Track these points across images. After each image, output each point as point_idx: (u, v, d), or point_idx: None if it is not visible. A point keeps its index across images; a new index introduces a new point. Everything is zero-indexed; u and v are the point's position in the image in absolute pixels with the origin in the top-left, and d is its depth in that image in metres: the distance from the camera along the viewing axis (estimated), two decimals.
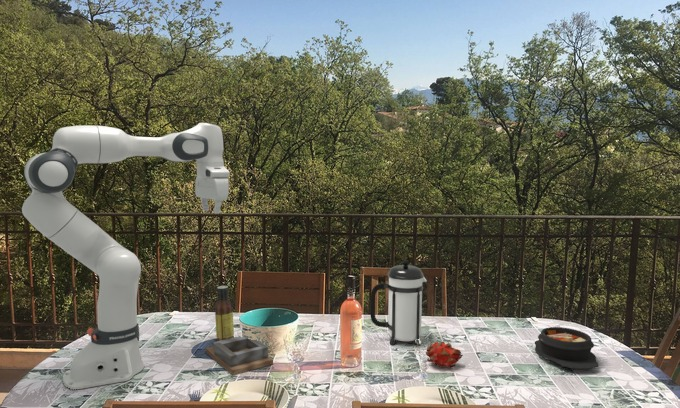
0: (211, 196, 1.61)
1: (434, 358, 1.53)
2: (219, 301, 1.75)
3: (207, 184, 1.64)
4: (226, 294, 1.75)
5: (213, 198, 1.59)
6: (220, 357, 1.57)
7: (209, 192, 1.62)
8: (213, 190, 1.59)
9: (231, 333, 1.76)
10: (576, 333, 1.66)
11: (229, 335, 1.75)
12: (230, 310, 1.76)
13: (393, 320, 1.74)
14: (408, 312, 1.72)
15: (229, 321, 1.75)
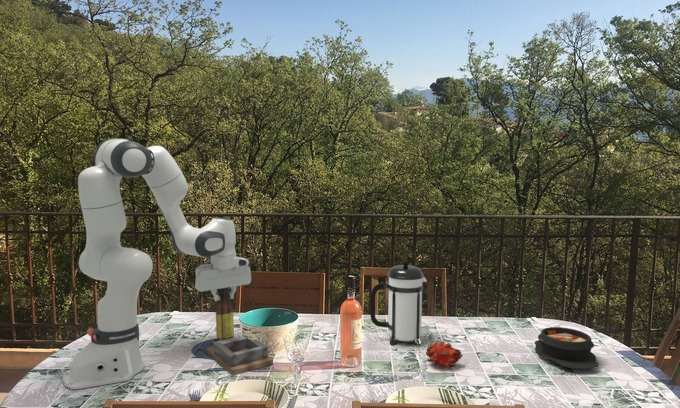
0: (238, 283, 1.77)
1: (434, 358, 1.53)
2: (220, 301, 1.75)
3: (227, 274, 1.75)
4: (227, 294, 1.76)
5: (242, 284, 1.78)
6: (220, 357, 1.57)
7: (233, 280, 1.76)
8: (241, 277, 1.78)
9: (231, 333, 1.76)
10: (576, 333, 1.66)
11: (229, 335, 1.75)
12: (231, 310, 1.76)
13: (393, 320, 1.74)
14: (408, 312, 1.72)
15: (229, 321, 1.75)
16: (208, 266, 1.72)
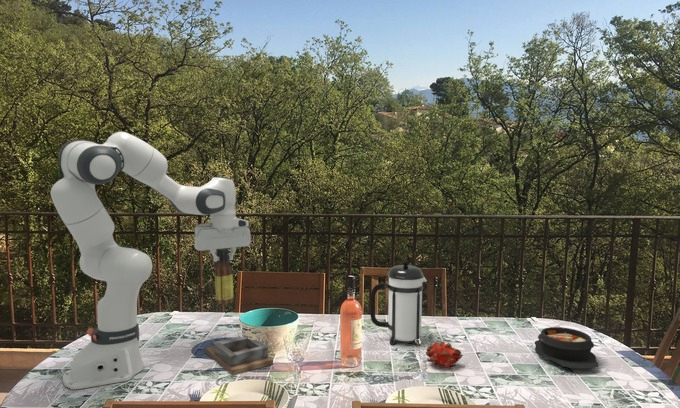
0: (237, 244, 1.76)
1: (434, 358, 1.53)
2: (219, 263, 1.74)
3: (227, 234, 1.74)
4: (226, 256, 1.74)
5: (241, 245, 1.77)
6: (220, 357, 1.57)
7: (232, 241, 1.75)
8: (241, 238, 1.77)
9: (231, 295, 1.75)
10: (576, 333, 1.66)
11: (229, 297, 1.74)
12: (230, 272, 1.75)
13: (393, 320, 1.74)
14: (408, 312, 1.72)
15: (229, 283, 1.74)
16: (207, 225, 1.70)
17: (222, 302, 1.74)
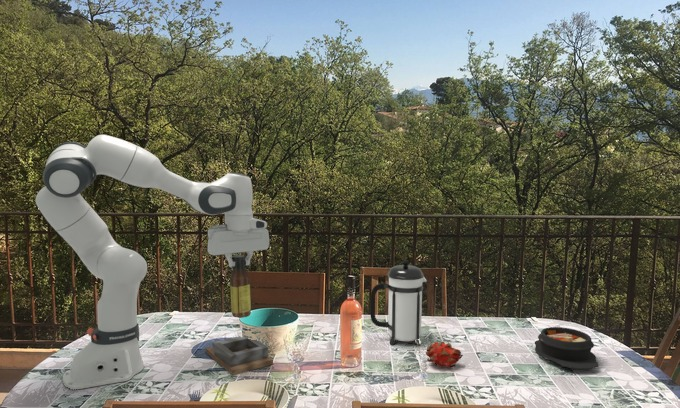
0: (255, 247, 1.58)
1: (434, 358, 1.53)
2: (235, 271, 1.56)
3: (243, 237, 1.56)
4: (243, 264, 1.57)
5: (259, 248, 1.59)
6: (220, 357, 1.57)
7: (249, 244, 1.57)
8: (259, 241, 1.59)
9: (248, 307, 1.57)
10: (576, 333, 1.66)
11: (246, 309, 1.57)
12: (247, 282, 1.57)
13: (393, 320, 1.74)
14: (408, 312, 1.72)
15: (246, 294, 1.56)
16: (222, 227, 1.52)
17: (239, 315, 1.56)
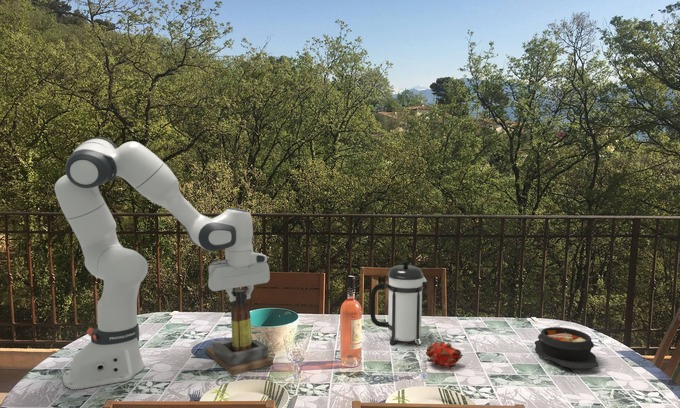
0: (255, 281, 1.59)
1: (434, 358, 1.53)
2: (236, 306, 1.57)
3: (244, 271, 1.57)
4: (244, 298, 1.58)
5: (260, 282, 1.60)
6: (220, 357, 1.57)
7: (250, 278, 1.58)
8: (259, 275, 1.60)
9: (249, 341, 1.58)
10: (576, 333, 1.66)
11: (247, 343, 1.58)
12: (248, 316, 1.58)
13: (393, 320, 1.74)
14: (408, 312, 1.72)
15: (247, 328, 1.57)
16: (223, 263, 1.53)
17: (240, 349, 1.57)
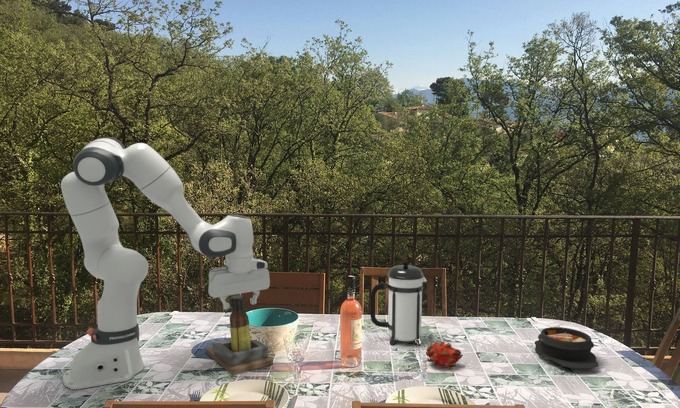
0: (256, 288, 1.59)
1: (434, 358, 1.53)
2: (234, 312, 1.57)
3: (244, 278, 1.57)
4: (242, 304, 1.58)
5: (260, 288, 1.60)
6: (220, 357, 1.57)
7: (250, 285, 1.58)
8: (259, 281, 1.60)
9: (248, 347, 1.58)
10: (576, 333, 1.66)
11: None
12: (247, 322, 1.58)
13: (393, 320, 1.74)
14: (408, 312, 1.72)
15: (246, 334, 1.57)
16: (223, 269, 1.54)
17: None
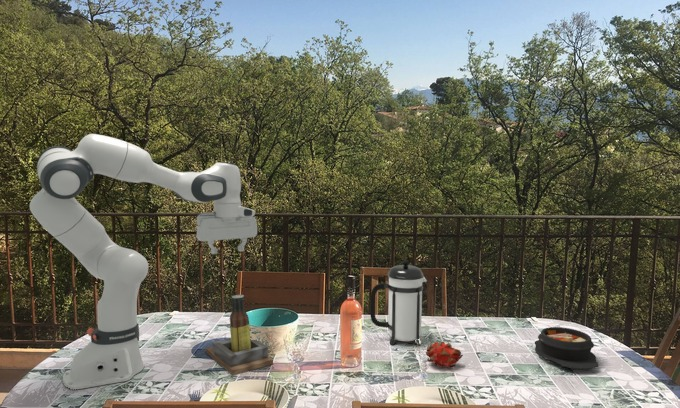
0: (243, 235, 1.64)
1: (434, 358, 1.53)
2: (234, 312, 1.57)
3: (232, 224, 1.61)
4: (242, 304, 1.58)
5: (247, 236, 1.65)
6: (220, 357, 1.57)
7: (237, 231, 1.62)
8: (247, 229, 1.64)
9: (248, 347, 1.59)
10: (576, 333, 1.66)
11: None
12: (247, 322, 1.58)
13: (393, 320, 1.74)
14: (408, 312, 1.72)
15: (246, 334, 1.58)
16: (211, 214, 1.58)
17: None
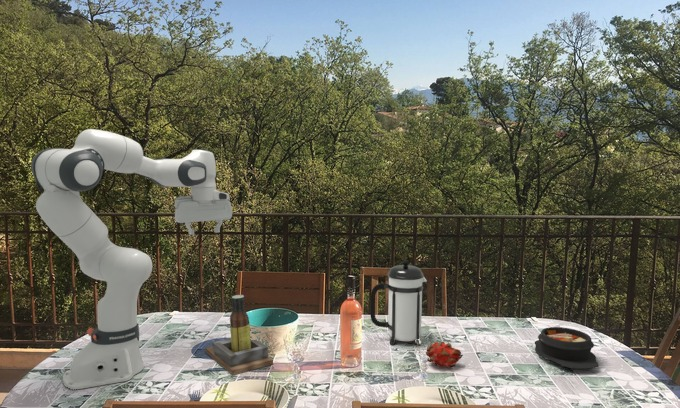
0: (218, 217, 1.76)
1: (434, 358, 1.53)
2: (234, 312, 1.57)
3: (208, 207, 1.74)
4: (242, 304, 1.58)
5: (222, 218, 1.77)
6: (220, 357, 1.57)
7: (213, 214, 1.75)
8: (222, 211, 1.77)
9: (248, 347, 1.58)
10: (576, 333, 1.66)
11: None
12: (247, 322, 1.58)
13: (393, 320, 1.74)
14: (408, 312, 1.72)
15: (246, 334, 1.58)
16: (188, 198, 1.71)
17: None
